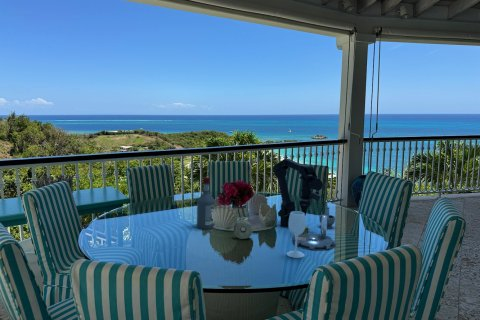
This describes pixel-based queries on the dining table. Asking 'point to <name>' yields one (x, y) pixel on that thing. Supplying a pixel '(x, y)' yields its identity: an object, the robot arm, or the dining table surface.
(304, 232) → the link block
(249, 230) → the stone disc
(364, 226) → the dining table surface
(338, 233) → the dining table surface
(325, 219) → the sprocket
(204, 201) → the liquor
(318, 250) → the base mat
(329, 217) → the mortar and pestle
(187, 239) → the dining table surface
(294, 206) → the robot arm
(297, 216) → the wineglass
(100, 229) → the dining table surface
